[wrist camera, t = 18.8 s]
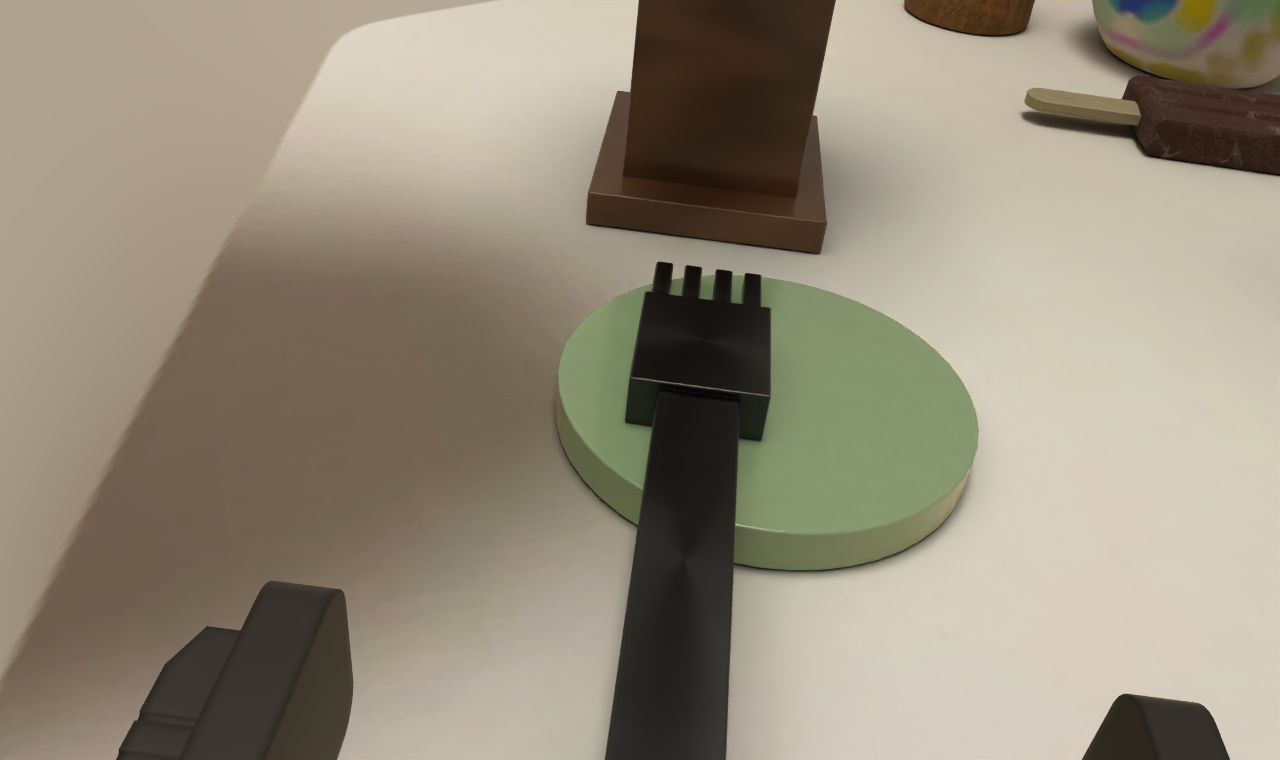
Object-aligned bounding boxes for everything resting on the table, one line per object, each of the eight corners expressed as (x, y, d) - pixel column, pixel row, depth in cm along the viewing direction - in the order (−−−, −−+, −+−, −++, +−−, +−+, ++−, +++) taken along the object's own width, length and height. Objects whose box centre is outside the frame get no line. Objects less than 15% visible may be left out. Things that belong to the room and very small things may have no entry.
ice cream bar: (1028, 139, 47) (1390, 191, 46) (1040, 102, 46) (1410, 155, 45) (1012, 93, 51) (1344, 140, 50) (1023, 58, 50) (1361, 106, 49)
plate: (521, 536, 25) (523, 498, 25) (584, 287, 34) (587, 253, 34) (999, 600, 25) (1014, 564, 25) (938, 333, 34) (948, 300, 33)
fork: (552, 833, 18) (556, 784, 18) (649, 276, 33) (654, 235, 32) (756, 862, 18) (770, 814, 17) (763, 292, 33) (771, 251, 32)
